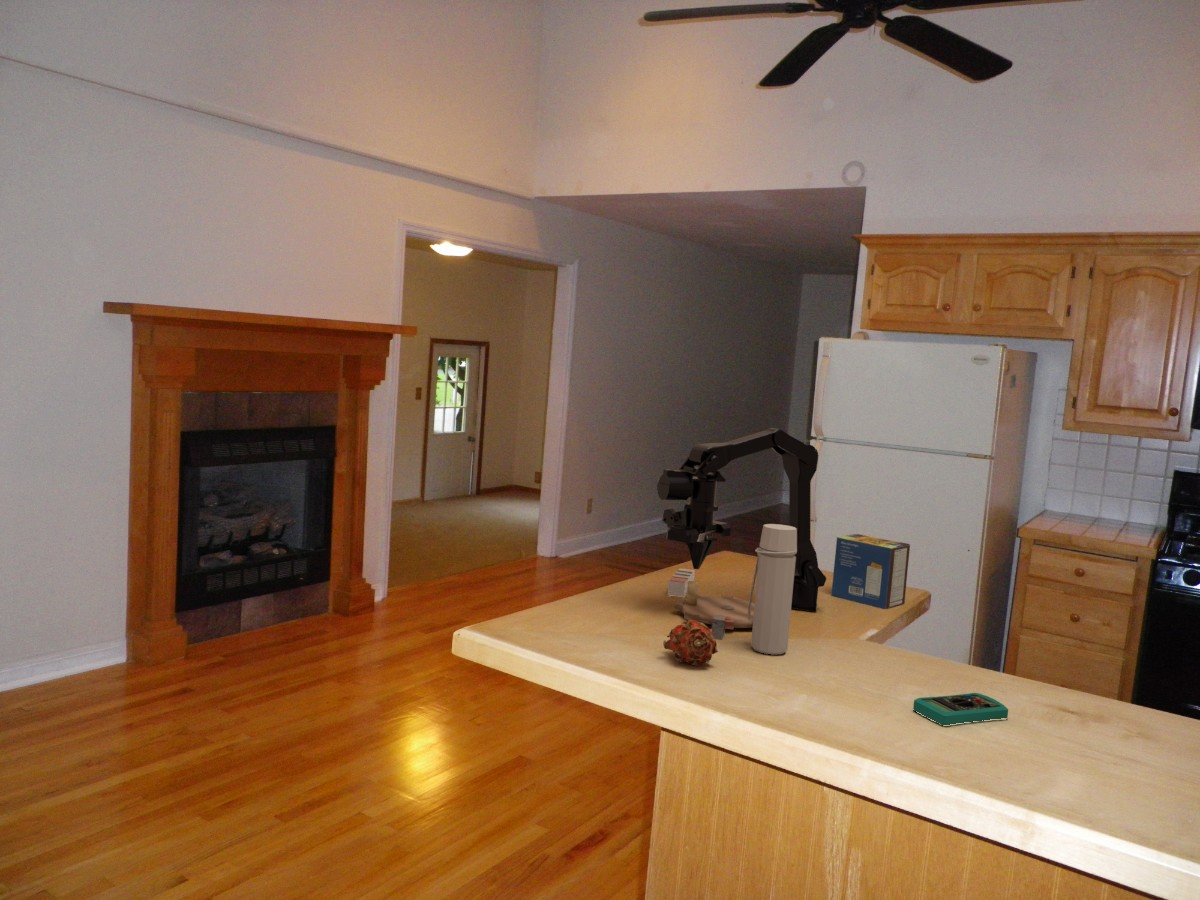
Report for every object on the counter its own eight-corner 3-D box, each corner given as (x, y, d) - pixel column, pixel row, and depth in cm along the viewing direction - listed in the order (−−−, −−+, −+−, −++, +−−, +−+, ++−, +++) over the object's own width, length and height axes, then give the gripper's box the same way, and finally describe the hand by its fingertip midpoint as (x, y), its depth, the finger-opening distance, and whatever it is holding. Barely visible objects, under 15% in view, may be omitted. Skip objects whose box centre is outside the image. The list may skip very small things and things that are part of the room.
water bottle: (795, 651, 180) (806, 528, 178) (773, 659, 174) (785, 531, 172) (756, 640, 186) (766, 521, 184) (734, 646, 181) (745, 523, 178)
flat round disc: (726, 597, 217) (729, 570, 217) (801, 622, 199) (804, 593, 198) (653, 606, 203) (655, 578, 203) (726, 635, 185) (729, 604, 184)
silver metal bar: (693, 585, 233) (694, 569, 233) (683, 599, 218) (685, 582, 217) (678, 583, 234) (679, 567, 234) (667, 597, 219) (668, 580, 218)
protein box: (850, 590, 239) (855, 533, 238) (905, 604, 228) (911, 543, 227) (829, 595, 232) (835, 536, 230) (885, 609, 221) (892, 547, 220)
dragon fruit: (706, 682, 163) (669, 670, 173) (736, 650, 167) (698, 641, 177) (683, 646, 161) (647, 636, 171) (714, 615, 164) (677, 607, 175)
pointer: (725, 633, 190) (726, 615, 189) (722, 639, 185) (724, 620, 185) (713, 631, 190) (715, 613, 190) (710, 637, 186) (712, 618, 185)
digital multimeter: (1010, 722, 151) (1012, 705, 151) (942, 729, 145) (944, 712, 145) (976, 706, 158) (978, 690, 157) (910, 713, 152) (912, 696, 151)
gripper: (693, 493, 215) (687, 557, 216) (649, 498, 200) (643, 567, 201) (734, 500, 208) (728, 566, 209) (692, 505, 193) (686, 577, 195)
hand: (696, 568), depth 204 cm, fingers closed
